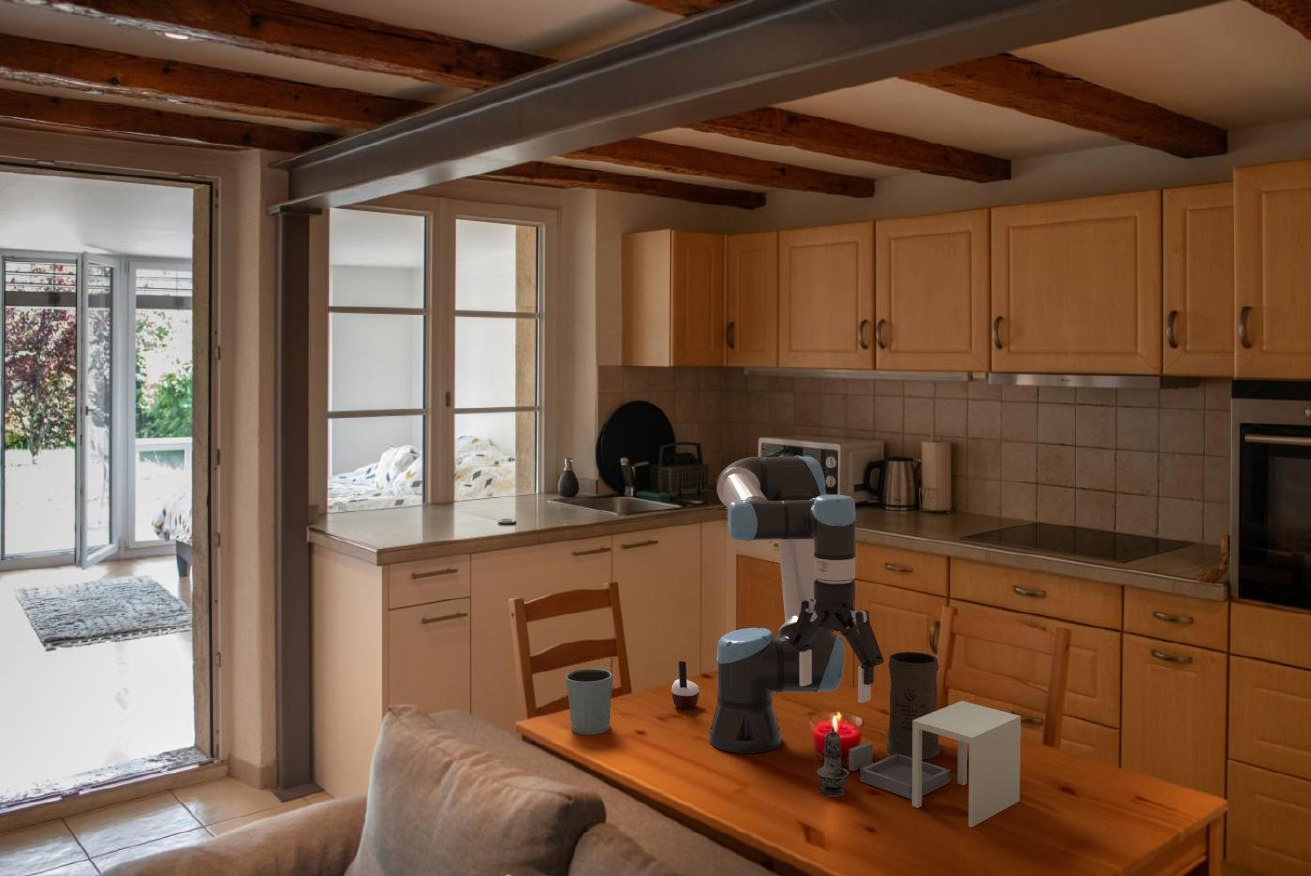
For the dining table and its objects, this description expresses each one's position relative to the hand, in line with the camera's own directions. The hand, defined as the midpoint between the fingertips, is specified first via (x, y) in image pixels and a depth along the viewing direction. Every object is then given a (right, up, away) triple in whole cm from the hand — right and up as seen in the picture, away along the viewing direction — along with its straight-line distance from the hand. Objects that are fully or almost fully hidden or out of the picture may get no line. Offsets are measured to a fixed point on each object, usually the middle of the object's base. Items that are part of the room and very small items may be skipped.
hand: (834, 692), depth 193 cm
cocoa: (-26, -16, +50) cm, 59 cm away
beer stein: (+20, -17, +23) cm, 35 cm away
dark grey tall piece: (0, -19, +1) cm, 19 cm away
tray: (+13, -18, +6) cm, 23 cm away
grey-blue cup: (-48, -17, +36) cm, 62 cm away
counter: (+23, -19, -5) cm, 30 cm away
